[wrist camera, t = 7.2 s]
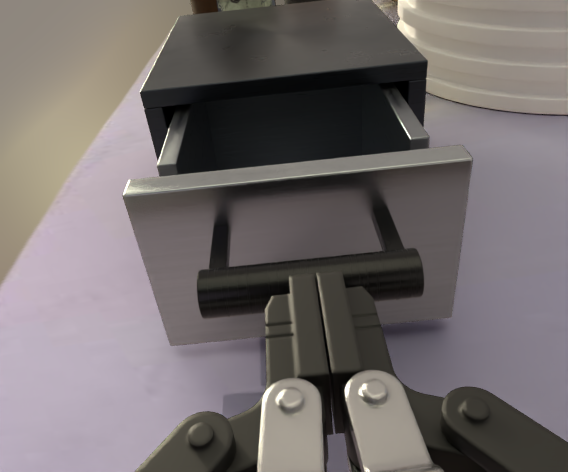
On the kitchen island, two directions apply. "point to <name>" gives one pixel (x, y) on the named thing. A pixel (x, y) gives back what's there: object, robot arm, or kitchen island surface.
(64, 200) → the kitchen island surface
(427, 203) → the drawer
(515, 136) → the kitchen island surface
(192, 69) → the cabinet
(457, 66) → the plate stack
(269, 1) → the olive oil
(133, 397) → the kitchen island surface
